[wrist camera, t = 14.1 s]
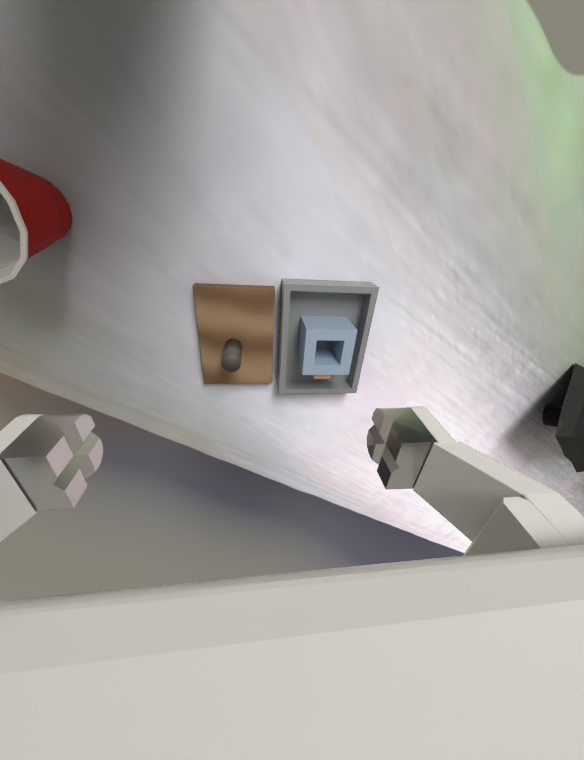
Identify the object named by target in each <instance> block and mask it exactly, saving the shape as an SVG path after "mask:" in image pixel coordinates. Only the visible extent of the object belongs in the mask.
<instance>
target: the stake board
mask: <svg viewBox="0 0 584 760" xmlns="http://www.w3.org/2000/svg"><path fill="white" fill-rule="evenodd" d="M193 292H194V300H195V309H196V317H197V326H198V334H199V343H200V351H201V360H202V368H203V377H204V384H217V383H272V370H273V337H274V304H275V287H274V286H253V285H226V284H199V283H195V284H194V285H193Z"/></svg>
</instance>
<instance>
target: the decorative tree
mask: <svg viewBox="0 0 584 760" xmlns="http://www.w3.org/2000/svg"><path fill="white" fill-rule="evenodd" d="M543 423H544V424H545V425H549V426H556V427H557V432H556V438H557V440H558V442H559V444H560V446H561V448H562V451H563V453H564V456H565V457H566V458H568V459H569V460H570V461H571V462H572V464H573V466H574V468H575V470H576V472H582V471H584V367H582V366H580V365H578V364H576V363H575V366H574V369H573V373H572V377H571V380H570V383H569V386H568V389H567V392H566V396H565V399H564V402H563V406H562V408H558V407H548V406H547V407H545V409H544V412H543Z"/></svg>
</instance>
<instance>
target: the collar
mask: <svg viewBox="0 0 584 760" xmlns="http://www.w3.org/2000/svg"><path fill="white" fill-rule="evenodd" d="M356 335H357V329H356V328H355V327H354V325H353V324H352V323H351V322H350V321H349V319H348V318H347V317H327V316H301V319H300V332H299V344H298V357H297V358H298V362H299V365H300V369H301V372H302V375H313V377H314V379H330V378H331V375H349V371H350V366H351V361H352V356H353V351H354V346H355V341H356ZM317 340H332V341H333V343H332V350H329V349H316V344H317Z"/></svg>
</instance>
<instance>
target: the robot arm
mask: <svg viewBox="0 0 584 760" xmlns="http://www.w3.org/2000/svg"><path fill="white" fill-rule="evenodd" d="M372 420H373V422H374V424H375V425H373V426H372V427H371V428H370V429H369V431H368V435H367V448H368V452H369V455H370V457H371V459H372V460H373V461H374V462H376V463H377V464H379V466H378V469H377V472H378V474H379V476H380V478H381V480H382V482H383V485H384V487H385V489H411V488H414V489H413V490H414V491H415V492H416V493H417V494H418V495H420V496H421V497H422V498H423V499H424V500H425V501H426V502H428V503H429V504H430V505H431V506H432V507H433V508H434V509H436V510H437V511H438V512H439V513H440V514H441V515H442V516H444V517H445V518H446V519H447V520H448V521H449V522H450V523H452V524H453V525H454V526H455V527H456V528H457V529H458V530H460V531H461V532H462V533H463V534H464V535H465V536H466V537H468V538H469V539H470V540H471V541H472V543H471V545H470V546H469V547H468V549H467V550H466V552H465V553H464V556H458V557H447V558H437V559H427V560H416V561H406V562H396V563H386V564H375V565H365V566H354V567H345V568H333V569H323V570H313V571H303V572H292V573H282V574H271V575H261V576H251V577H240V578H231V579H220V580H210V581H199V582H189V583H179V584H168V585H158V586H148V587H138V588H128V589H117V590H107V591H97V592H86V593H76V594H67V595H55V596H45V597H35V598H24V599H14V600H4V601H0V760H584V517H583V516H582V515H581V514H580V513H579V512H578V511H577V510H576V509H575V508H574V507H573V506H571V505H570V504H569V503H568V502H567V501H566V500H565V499H564V498H563V497H562V496H561V495H560V494H559V493H557V492H555V491H554V490H552V489H550V488H548V487H546V486H544V485H542V484H540V483H538V482H536V481H535V480H533V479H531V478H529V477H527V476H525V475H523V474H521V473H519V472H517V471H516V470H514V469H512V468H510V467H508V466H506V465H504V464H502V463H500V462H498V461H497V460H495V459H493V458H491V457H489V456H487V455H485V454H483V453H481V452H479V451H478V450H476V449H474V448H472V447H470V446H468V445H466V444H464V443H462V442H456V441H455V440H454V439H453V438H452V437H451V436H450V434H449V433H448V432H447V431H446V430H445V429H444V428H443V426H442V425H441V424H440V423H439V422H438V421H437V420H436V418H435V417H434V416H433V415H432V414H431V413H430V411H429V410H428V409H427V408H425V407H423V406H421V407H407V408H376V409H375V411H374V412H373V416H372ZM94 427H95V424H94V422H93V420H92V418H91V416H89V415H86V414H24V415H21V416H18V417H16V418H15V419H14V420H13V421H11V422H10V423H9V424H8V425H7V426H6V427H4V428H3V429H2V430H1V431H0V542H1V541H2V540H3V539H4V538H6V537H7V536H8V535H9V534H10V533H12V532H13V531H14V530H15V529H17V528H18V527H19V526H21V525H22V524H23V523H24V522H26V521H27V520H28V519H29V518H31V517H32V516H33V515H34V514H36V511H43V510H56V509H67V508H74V507H75V505H76V504H77V502H78V501H79V499H80V497H81V496H82V494H83V492H84V491H85V489H86V487H87V482H86V478H87V477H89V476H91V475H92V474H93V473H95V472H96V470H97V469H98V467H99V465H100V463H101V460H102V456H103V445H102V442H101V439H100V438H99V437H98V436H96V435H95V434H94V433H92V430H93V429H94Z"/></svg>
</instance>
